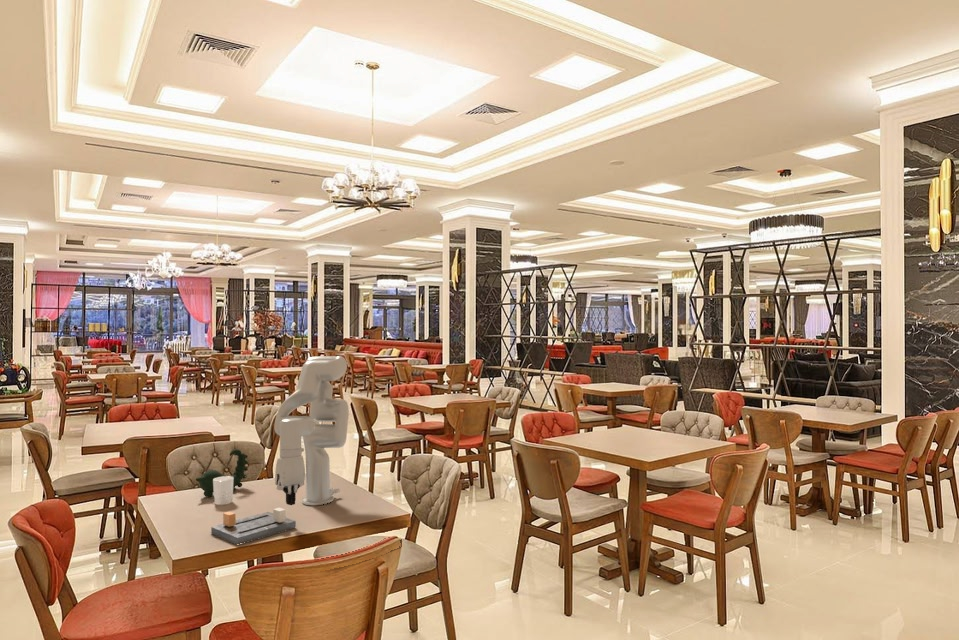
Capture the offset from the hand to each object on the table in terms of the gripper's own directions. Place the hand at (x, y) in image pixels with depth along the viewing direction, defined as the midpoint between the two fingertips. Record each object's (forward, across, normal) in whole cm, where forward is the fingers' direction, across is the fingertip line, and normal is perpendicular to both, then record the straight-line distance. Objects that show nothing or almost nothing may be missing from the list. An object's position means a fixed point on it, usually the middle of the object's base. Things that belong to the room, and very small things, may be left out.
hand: (290, 504), depth 225 cm
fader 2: (+6, +4, -1) cm, 7 cm away
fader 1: (+6, +18, -11) cm, 22 cm away
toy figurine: (+7, -7, -64) cm, 64 cm away
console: (+8, +11, -6) cm, 15 cm away
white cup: (+7, 0, -49) cm, 49 cm away
